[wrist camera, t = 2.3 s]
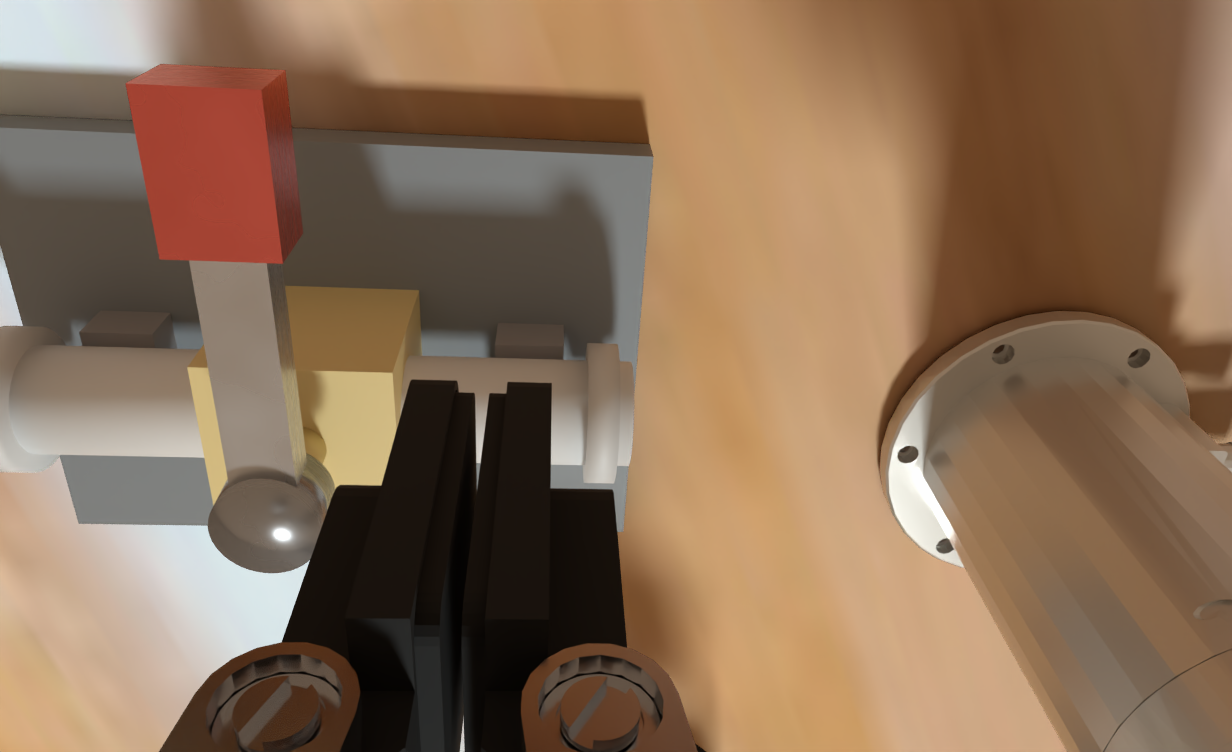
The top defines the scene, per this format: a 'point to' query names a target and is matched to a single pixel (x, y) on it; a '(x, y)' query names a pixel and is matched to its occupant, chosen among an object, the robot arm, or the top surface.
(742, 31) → the top surface
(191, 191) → the lever
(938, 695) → the top surface
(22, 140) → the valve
